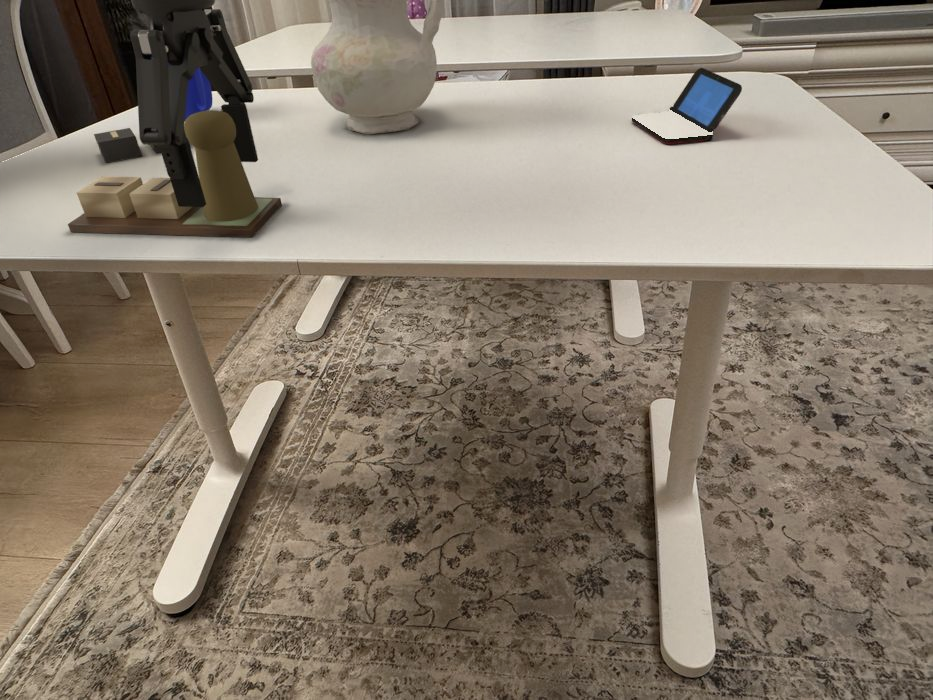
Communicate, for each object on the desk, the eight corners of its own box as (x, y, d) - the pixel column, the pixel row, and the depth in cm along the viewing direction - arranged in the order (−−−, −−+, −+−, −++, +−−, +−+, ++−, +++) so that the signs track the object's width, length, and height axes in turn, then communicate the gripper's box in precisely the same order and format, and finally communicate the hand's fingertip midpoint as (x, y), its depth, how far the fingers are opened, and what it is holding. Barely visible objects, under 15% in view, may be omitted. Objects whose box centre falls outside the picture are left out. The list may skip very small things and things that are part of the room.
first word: (101, 154, 97) (93, 133, 95) (183, 138, 102) (177, 118, 100) (105, 163, 93) (97, 141, 91) (190, 146, 98) (184, 126, 96)
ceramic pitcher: (464, 116, 111) (460, -55, 98) (440, 142, 94) (431, -59, 82) (344, 115, 114) (325, -51, 102) (301, 140, 98) (272, -53, 85)
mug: (198, 128, 106) (180, 63, 100) (153, 119, 112) (134, 57, 106) (237, 115, 112) (222, 53, 106) (192, 107, 117) (176, 47, 111)
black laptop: (628, 122, 101) (633, 71, 97) (691, 116, 103) (700, 66, 98) (664, 146, 91) (672, 91, 87) (734, 139, 93) (745, 85, 88)
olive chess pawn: (237, 224, 71) (211, 122, 65) (192, 217, 73) (163, 118, 67) (268, 203, 76) (247, 106, 69) (226, 198, 78) (201, 103, 71)
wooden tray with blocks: (70, 232, 74) (56, 198, 71) (115, 201, 81) (103, 169, 79) (252, 237, 71) (243, 202, 68) (282, 205, 78) (275, 172, 76)
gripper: (125, -26, 50) (200, 229, 62) (255, -50, 70) (292, 146, 82) (37, -23, 50) (128, 227, 63) (190, -48, 71) (236, 145, 83)
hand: (221, 181), depth 72 cm, fingers open, 13 cm apart
